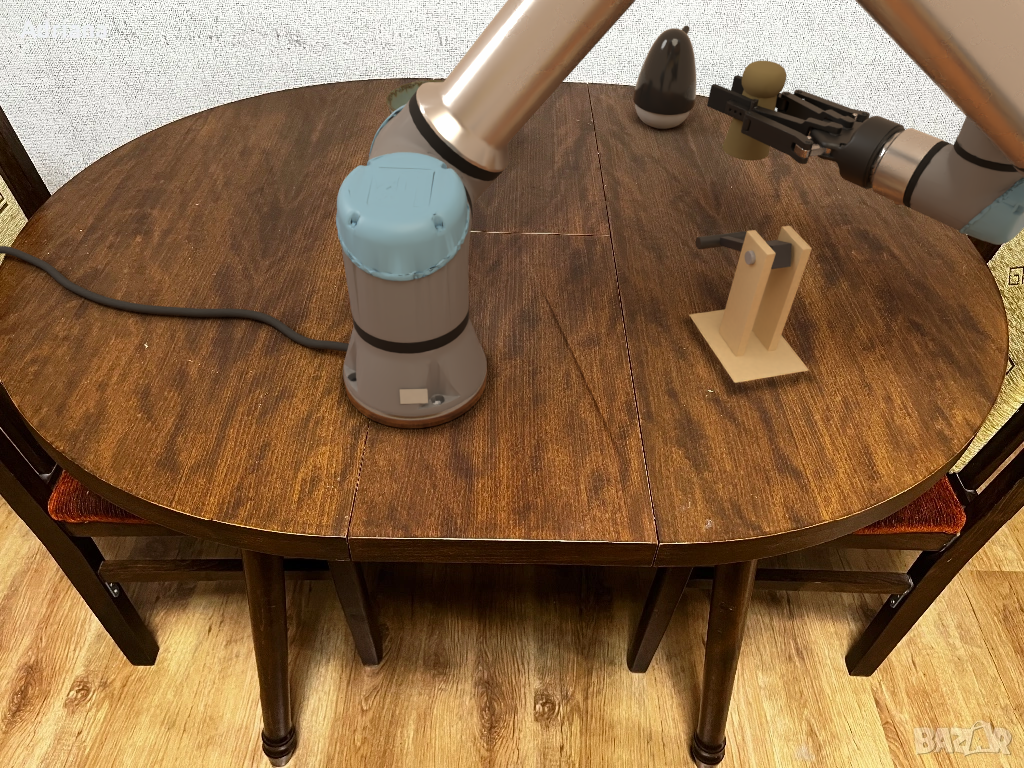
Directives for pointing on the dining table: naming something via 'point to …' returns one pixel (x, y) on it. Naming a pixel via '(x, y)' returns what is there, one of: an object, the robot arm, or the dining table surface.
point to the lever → (736, 243)
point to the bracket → (757, 311)
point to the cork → (763, 85)
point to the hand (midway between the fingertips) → (722, 90)
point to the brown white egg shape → (667, 81)
